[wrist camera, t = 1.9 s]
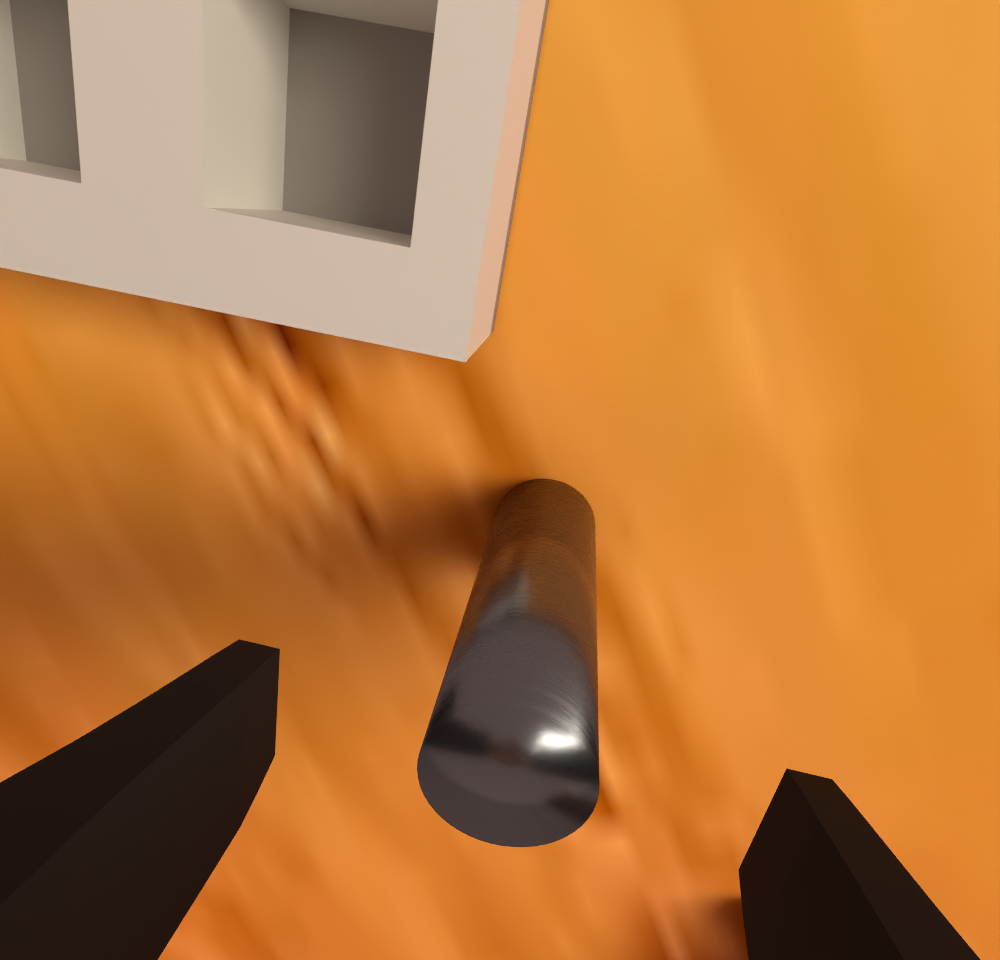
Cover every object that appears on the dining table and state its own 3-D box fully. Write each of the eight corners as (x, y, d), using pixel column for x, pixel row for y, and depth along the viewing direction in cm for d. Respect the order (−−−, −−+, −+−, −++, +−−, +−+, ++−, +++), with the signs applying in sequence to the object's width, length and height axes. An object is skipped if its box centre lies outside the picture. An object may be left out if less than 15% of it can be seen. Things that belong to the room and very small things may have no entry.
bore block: (493, 330, 14) (465, 362, 11) (4, 232, 15) (-155, 235, 12) (557, -51, 12) (545, -154, 8) (-44, -151, 12) (-266, -281, 9)
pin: (488, 557, 17) (407, 822, 9) (504, 469, 16) (429, 689, 8) (582, 578, 17) (576, 864, 9) (605, 491, 16) (619, 733, 8)
